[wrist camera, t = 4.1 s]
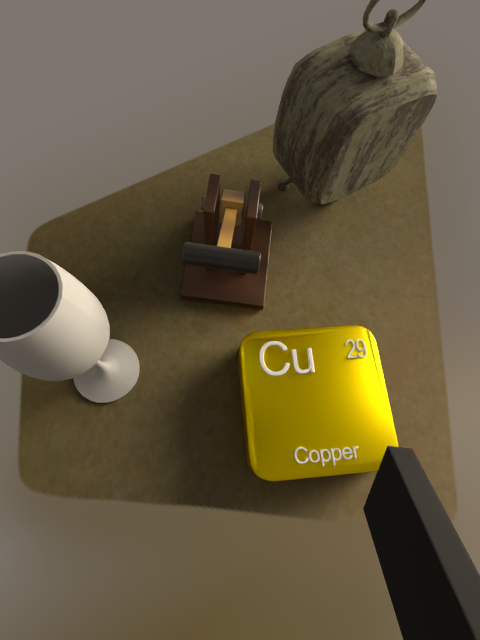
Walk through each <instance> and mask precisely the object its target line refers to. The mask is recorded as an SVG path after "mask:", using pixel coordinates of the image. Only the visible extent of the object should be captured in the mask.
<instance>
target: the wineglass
mask: <svg viewBox="0 0 480 640" xmlns="http://www.w3.org/2000/svg"><path fill="white" fill-rule="evenodd" d="M109 336H110V325H109V322H108V318H107V315H106V312H105V310H104V308H103V307H102V305H101V303H100V302H99V300H98V299H97V297H96V296H95V295H94V294H93V293H92V292H91V291H90V290H89V289H87V288H86V287H85V286H84V285H83V284H82V283H81V282H80V281H78V280H77V279H76V278H75V277H74V276H72V275H71V274H70V273H68V272H67V271H66V270H64V269H63V268H61V267H60V266H58V265H57V264H55V263H53V262H51V261H50V260H48V259H46V258H44V257H42V256H40V255H39V254H35V253H31V252H26V251H13V252H7V253H2V254H0V360H2V361H3V362H4V363H6V364H7V365H9V366H10V367H12V368H13V369H15V370H17V371H18V372H20V373H22V374H24V375H27V376H29V377H33V378H36V379H40V380H45V381H62V380H67V379H72V378H73V380H74V384H75V386H76V388H77V390H78V391H79V392H80V393H81V394H82V395H83V396H84V397H85V398H87V399H89V400H90V401H94V402H98V403H108V402H113V401H116V400H118V399H120V398H122V397H124V396H125V395H126V394H127V393H129V392H130V390H131V389H132V388H133V387H134V385H135V383H136V381H137V379H138V375H139V361H138V357H137V355H136V354H135V352H134V350H133V349H132V348H131V347H130V346H129V345H127V344H125V343H124V342H122V341H118V340H115V339H109Z"/></svg>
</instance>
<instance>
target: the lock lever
mask: <svg viewBox="0 0 480 640" xmlns="http://www.w3.org/2000/svg"><path fill="white" fill-rule="evenodd" d="M244 199H245V192H241V191H233V190H226V189H224V190H223V194H222V197H221V203H220V215H219V223H222V226H221V230H220V235H219V239H218V243H217V246H213V245H206V244H199V243H191V242H185V243H184V246H183V252H182V263H183V265H189V266H197V267H204V268H211V269H219V270H226V271H233V272H241V273H248V274H255V275H257V274H258V271H259V266H260V258H261V252H257V251H250V250H243V249H235V248H231V245H232V239H233V233H234V228H235V225H238V226H241V222H242V215H243V207H244Z"/></svg>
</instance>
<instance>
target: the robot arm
mask: <svg viewBox="0 0 480 640" xmlns="http://www.w3.org/2000/svg"><path fill="white" fill-rule="evenodd" d="M363 509H364V513H365V516H366V519H367V522H368V526H369V528H370V532H371V535H372V539H373V542H374V545H375V548H376V552H377V555H378V558H379V562H380V565H381V568H382V571H383V575H384V578H385V581H386V584H387V587H388V591H389V594H390V597H391V601H392V604H393V607H394V610H395V613H396V617H397V620H398V623H399V627H400V630H401V633H402V636H403V640H480V575H479V573H478V571H477V569H476V568H475V566H474V564H473V562H472V560H471V558H470V556H469V554H468V552H467V551H466V549H465V547H464V545H463V543H462V541H461V539H460V538H459V536H458V534H457V532H456V530H455V528H454V526H453V524H452V522H451V521H450V519H449V517H448V515H447V513H446V511H445V509H444V507H443V506H442V504H441V502H440V500H439V498H438V496H437V494H436V492H435V491H434V489H433V487H432V485H431V483H430V481H429V479H428V477H427V475H426V474H425V472H424V470H423V468H422V466H421V464H420V462H419V460H418V459H417V457H416V455H415V453H414V451H413V449H410V448H401V447H393V446H387V448H386V451H385V453H384V456H383V459H382V461H381V464H380V466H379V469H378V472H377V474H376V477H375V480H374V482H373V485H372V487H371V490H370V493H369V495H368V498H367V500H366V503H365V506H364V508H363Z"/></svg>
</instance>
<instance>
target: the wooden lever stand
mask: <svg viewBox="0 0 480 640" xmlns="http://www.w3.org/2000/svg"><path fill="white" fill-rule="evenodd" d="M260 187H261V181H257V180H251V184H250V191H249V199H248V206H247V213H246V218H242V222H241V226H238V225H235V228H234V233H233V239H232V245H231V248H235V249H243V250H250V251H257V252H261V258H260V266H259V271H258V274H257V275H255V274H248V273H241V272H233V271H226V270H219V269H211V268H204V267H197V266H189V265H186V268H185V273H184V279H183V284H182V289H181V294H180V295H181V299H186V300H194V301H201V302H209V303H216V304H223V305H231V306H238V307H246V308H253V309H261V310H263V307H264V299H265V289H266V279H267V269H268V260H269V250H270V240H271V230H272V222H270V221H262V220H257V218H259V219H261V216H262V210H263V204H259V196H260ZM201 210H202V211H204V212H198V211H196V215H195V220H194V226H193V231H192V236H191V241H190V242H191V243H199V244H206V245H213V246H217V243H218V239H219V235H220V230H221V226H222V223H219V215H220V175H215V174H210V179H209V184H208V190H207V195H206V196H203V197H202V204H201Z"/></svg>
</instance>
